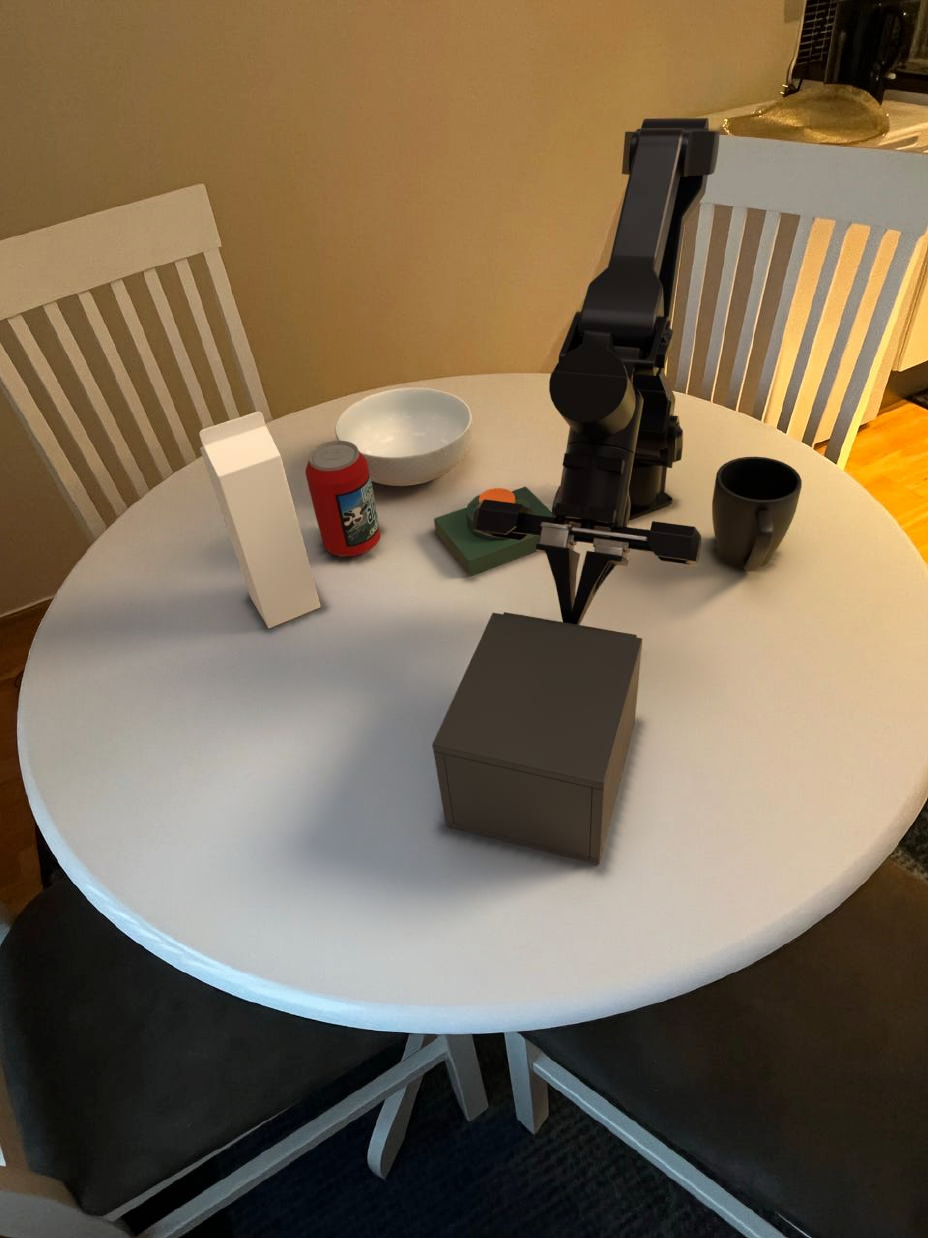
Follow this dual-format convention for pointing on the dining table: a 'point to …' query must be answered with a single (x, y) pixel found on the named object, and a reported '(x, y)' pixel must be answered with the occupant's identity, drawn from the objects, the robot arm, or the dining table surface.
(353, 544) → the beverage can
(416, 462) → the cereal bowl
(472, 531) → the control block
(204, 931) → the dining table surface
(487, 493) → the button
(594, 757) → the brown storage cube
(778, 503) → the mug
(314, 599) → the milk
